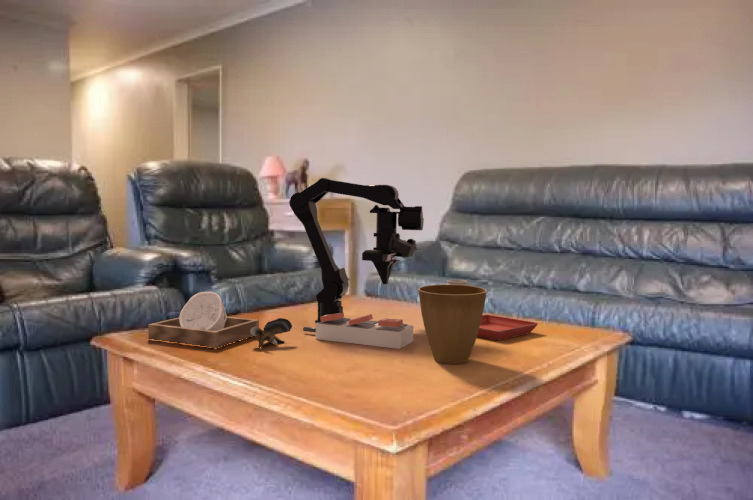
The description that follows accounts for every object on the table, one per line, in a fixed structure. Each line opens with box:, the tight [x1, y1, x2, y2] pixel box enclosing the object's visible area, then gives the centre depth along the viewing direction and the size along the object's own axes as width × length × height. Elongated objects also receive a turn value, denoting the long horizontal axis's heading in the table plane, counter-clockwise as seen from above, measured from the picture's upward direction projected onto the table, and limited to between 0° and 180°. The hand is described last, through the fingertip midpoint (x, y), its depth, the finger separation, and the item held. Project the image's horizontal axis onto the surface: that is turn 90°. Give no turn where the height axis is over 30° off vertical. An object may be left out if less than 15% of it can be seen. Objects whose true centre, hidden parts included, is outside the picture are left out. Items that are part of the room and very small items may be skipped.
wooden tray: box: [147, 316, 260, 349], centre depth 148 cm, size 20×17×4 cm
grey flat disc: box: [178, 291, 228, 331], centre depth 149 cm, size 10×14×12 cm
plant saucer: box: [477, 314, 539, 341], centre depth 161 cm, size 18×18×3 cm
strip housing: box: [302, 317, 414, 350], centre depth 150 cm, size 29×9×4 cm, turn 67°
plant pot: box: [417, 283, 488, 365], centre depth 129 cm, size 15×15×16 cm
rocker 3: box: [377, 318, 404, 327], centre depth 143 cm, size 5×4×1 cm
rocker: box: [349, 313, 374, 325], centre depth 146 cm, size 5×4×1 cm
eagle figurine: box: [250, 317, 293, 349], centre depth 141 cm, size 8×7×9 cm
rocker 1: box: [320, 311, 345, 322], centre depth 149 cm, size 5×4×1 cm
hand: (385, 284), depth 167 cm, fingers closed
